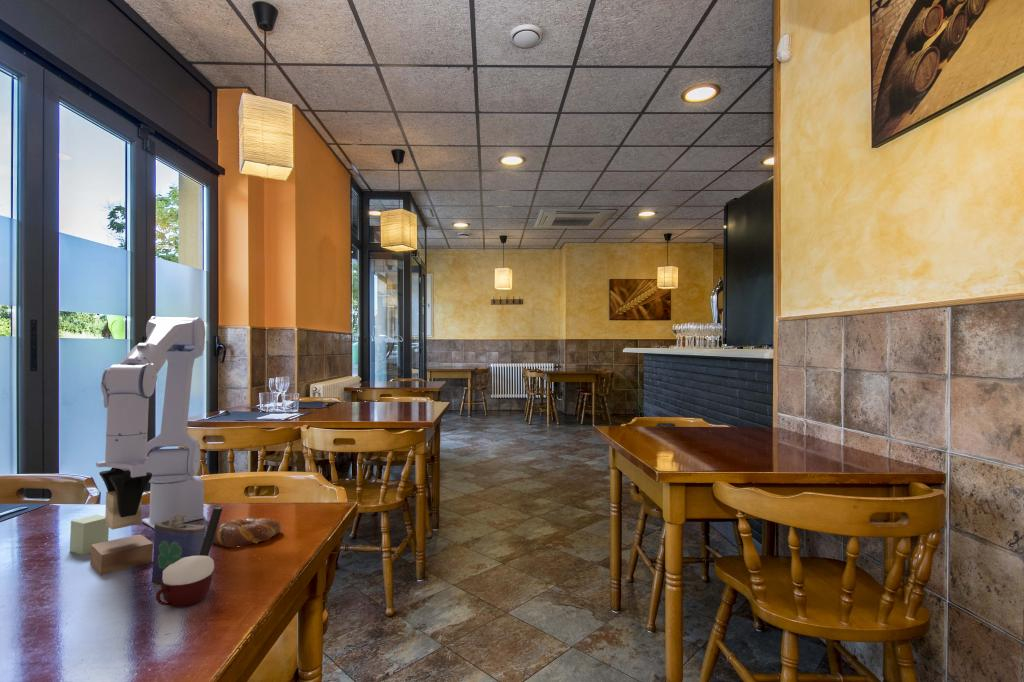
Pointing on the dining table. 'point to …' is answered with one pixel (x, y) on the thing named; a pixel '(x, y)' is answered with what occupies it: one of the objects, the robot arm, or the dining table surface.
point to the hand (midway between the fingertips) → (124, 513)
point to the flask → (174, 543)
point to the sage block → (87, 533)
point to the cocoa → (190, 573)
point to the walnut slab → (121, 554)
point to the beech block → (114, 517)
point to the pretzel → (245, 531)
